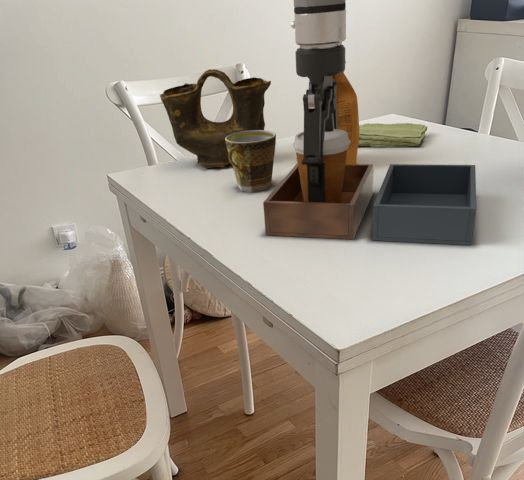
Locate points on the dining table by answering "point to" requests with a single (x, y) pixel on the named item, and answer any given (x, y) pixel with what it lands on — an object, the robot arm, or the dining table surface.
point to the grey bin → (426, 204)
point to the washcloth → (391, 134)
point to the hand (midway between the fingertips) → (322, 193)
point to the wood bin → (319, 207)
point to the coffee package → (347, 114)
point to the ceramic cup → (252, 158)
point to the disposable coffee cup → (326, 163)
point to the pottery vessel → (208, 132)
